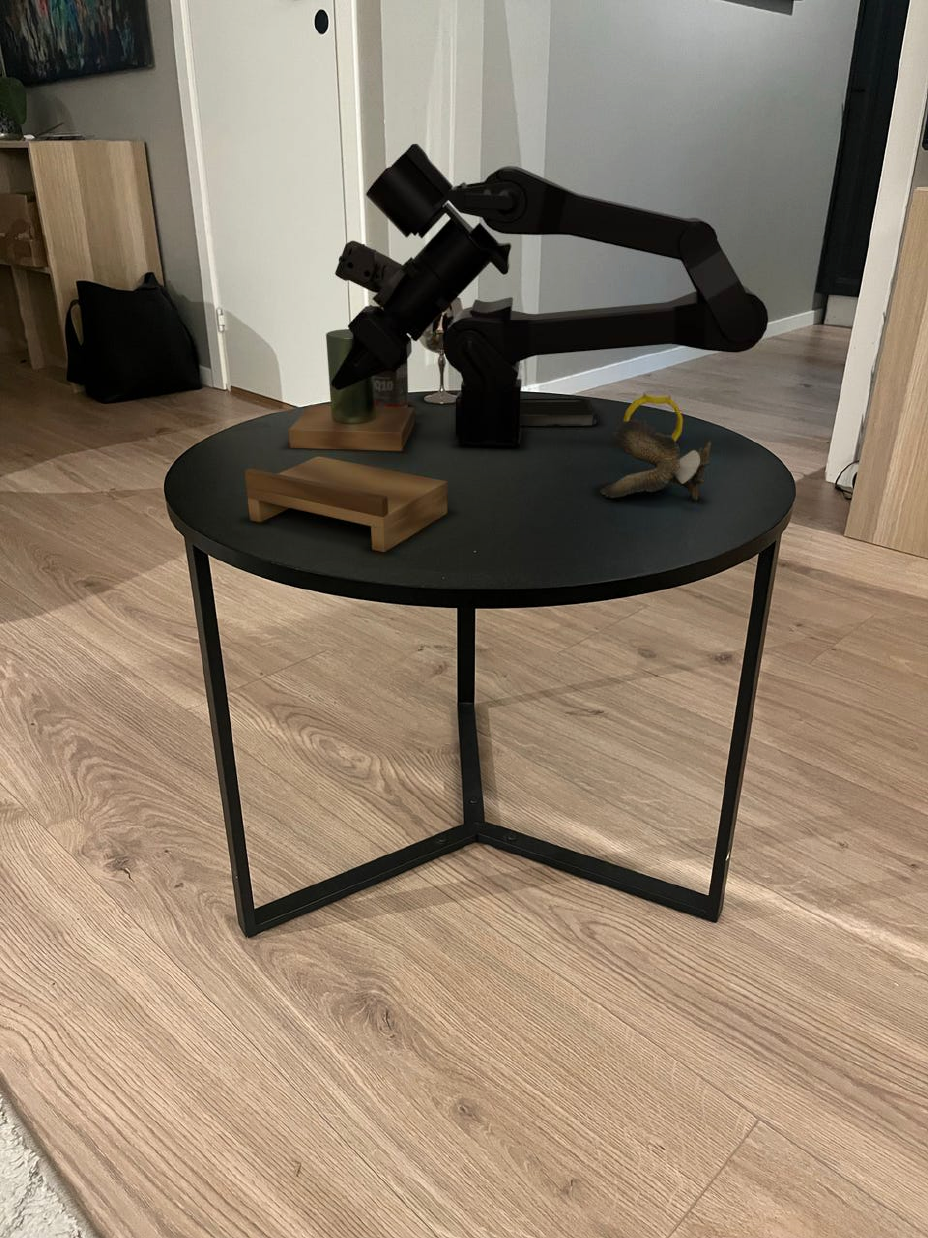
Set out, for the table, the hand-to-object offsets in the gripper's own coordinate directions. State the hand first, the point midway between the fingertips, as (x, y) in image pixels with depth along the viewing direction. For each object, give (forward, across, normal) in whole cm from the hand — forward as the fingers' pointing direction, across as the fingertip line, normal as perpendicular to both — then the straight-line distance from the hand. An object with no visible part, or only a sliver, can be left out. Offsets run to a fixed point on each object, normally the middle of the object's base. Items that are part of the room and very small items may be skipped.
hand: (339, 380), depth 102 cm
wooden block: (+3, 0, +5) cm, 6 cm away
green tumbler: (+2, 0, +4) cm, 4 cm away
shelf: (0, +24, +8) cm, 25 cm away
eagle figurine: (-18, +16, +27) cm, 37 cm away
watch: (-19, +2, +28) cm, 34 cm away
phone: (-10, -9, +19) cm, 23 cm away
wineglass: (-2, -16, +11) cm, 20 cm away
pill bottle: (+2, -12, +7) cm, 14 cm away
